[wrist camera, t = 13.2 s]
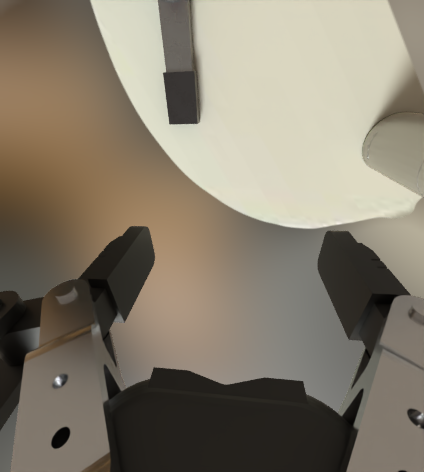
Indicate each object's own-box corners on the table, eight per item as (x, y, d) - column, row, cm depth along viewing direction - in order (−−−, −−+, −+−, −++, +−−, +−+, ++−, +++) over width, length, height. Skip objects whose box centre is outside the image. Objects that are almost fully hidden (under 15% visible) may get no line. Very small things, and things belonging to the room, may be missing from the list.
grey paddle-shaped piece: (130, -96, 26) (118, -118, 24) (204, -106, 25) (200, -130, 23) (161, 123, 39) (155, 125, 36) (211, 121, 38) (209, 123, 35)
